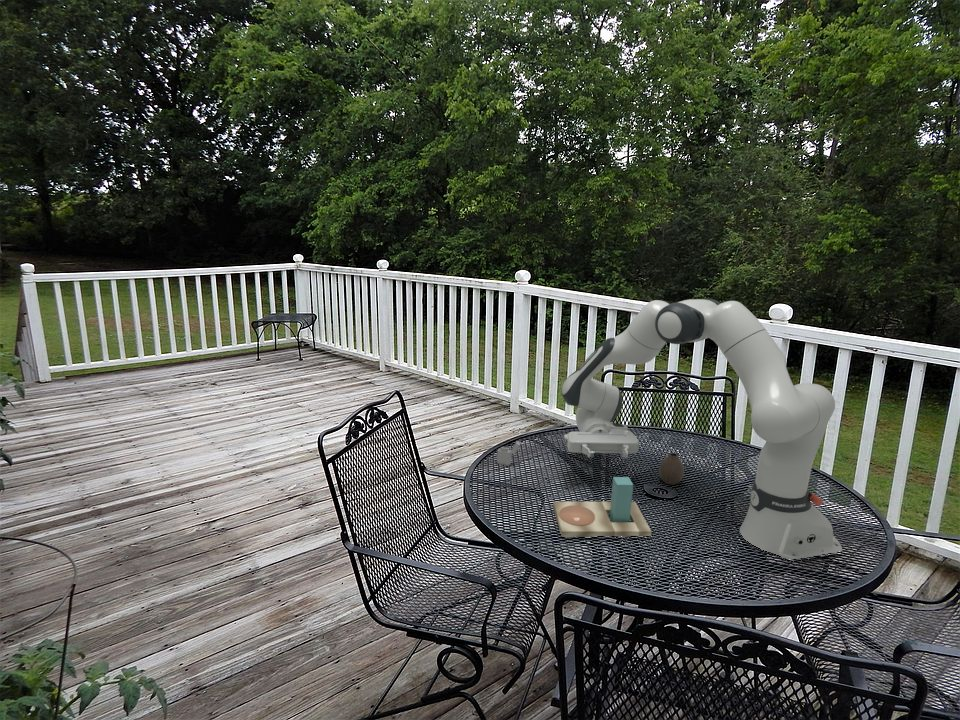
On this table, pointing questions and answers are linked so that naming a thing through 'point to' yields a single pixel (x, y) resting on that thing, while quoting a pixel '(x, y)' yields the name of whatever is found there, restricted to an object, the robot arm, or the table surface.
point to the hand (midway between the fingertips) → (608, 455)
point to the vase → (671, 469)
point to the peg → (621, 499)
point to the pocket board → (602, 521)
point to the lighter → (506, 454)
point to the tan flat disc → (577, 515)
